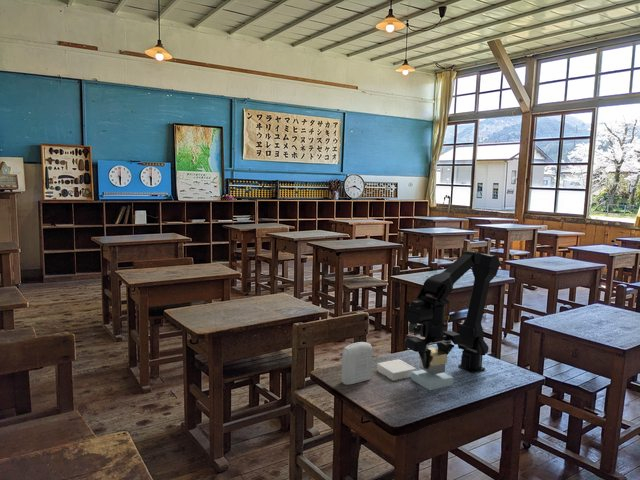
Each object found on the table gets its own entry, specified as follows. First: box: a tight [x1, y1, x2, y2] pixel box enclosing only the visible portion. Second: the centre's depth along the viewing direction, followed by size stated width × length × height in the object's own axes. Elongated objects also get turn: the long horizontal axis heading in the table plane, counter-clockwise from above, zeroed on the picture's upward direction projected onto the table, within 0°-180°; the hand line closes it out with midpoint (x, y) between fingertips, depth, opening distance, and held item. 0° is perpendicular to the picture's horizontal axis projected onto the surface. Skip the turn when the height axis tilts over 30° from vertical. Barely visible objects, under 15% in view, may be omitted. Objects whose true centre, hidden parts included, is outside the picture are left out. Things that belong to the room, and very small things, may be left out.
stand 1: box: [376, 359, 417, 382], centre depth 159 cm, size 9×9×2 cm
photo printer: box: [341, 341, 373, 386], centre depth 152 cm, size 10×4×12 cm, turn 123°
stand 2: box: [410, 369, 454, 391], centre depth 152 cm, size 9×9×2 cm
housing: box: [418, 346, 448, 375], centre depth 152 cm, size 7×6×6 cm
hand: (432, 366), depth 152 cm, fingers closed on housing, 5 cm apart
